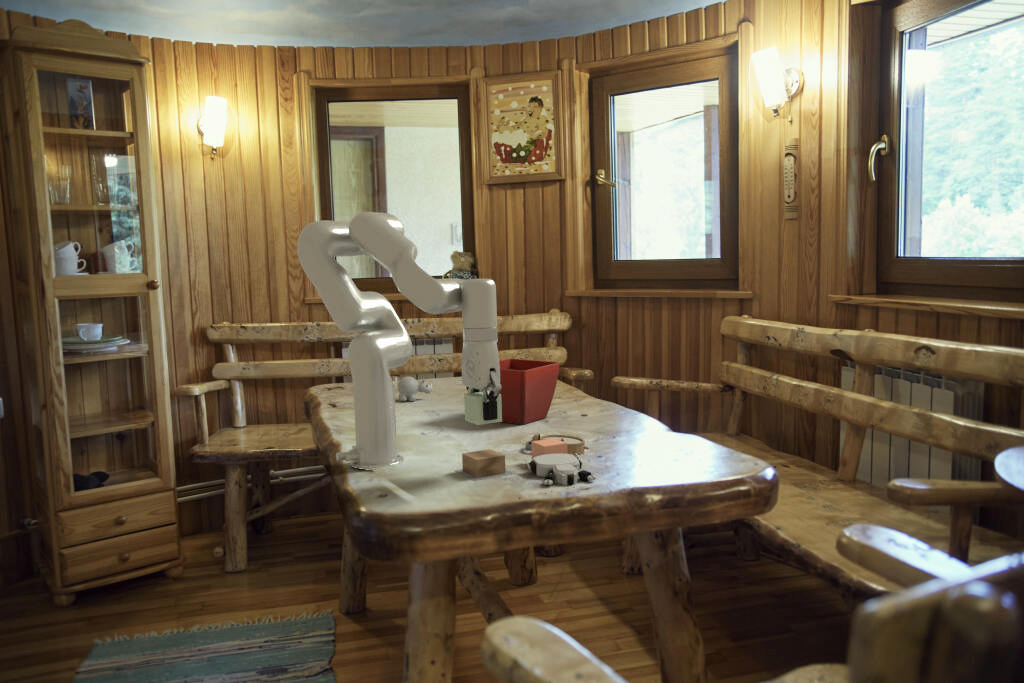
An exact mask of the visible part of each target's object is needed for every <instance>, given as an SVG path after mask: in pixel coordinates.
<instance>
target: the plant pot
mask: <svg viewBox="0 0 1024 683" xmlns="http://www.w3.org/2000/svg"><path fill="white" fill-rule="evenodd" d="M499 365H500V384H501V387H502V388H501V390H500V392H499V394H501V403H502V422H501V423H505V422H507V424H512V423H514V424H513V425H519V424H521V426H522V425H523V424H524V425H527V424H530V423H533V422H536V421H539V420H542V419H545V418H547V417H548V414H549V411H550V408H551V405H552V402H553V399H554V395H555V391H556V387H557V384H558V383H557V381H558V377H559V373H560V372H559V371H560V362H557V361H548V360H547V361H546V360H535V359H534V360H533V359H522V358H507V359H501V360H499ZM487 387H490V386H487ZM491 391H492V390H491ZM481 392H483V391H482V390H481ZM524 425H523V426H524Z"/></svg>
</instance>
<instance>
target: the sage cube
mask: <svg viewBox="0 0 1024 683" xmlns="http://www.w3.org/2000/svg"><path fill="white" fill-rule="evenodd" d="M487 392H488V395H489V393H490V391H487ZM463 396H464V397H463V398H464V402H463V403H464V421H465V422H468V423H470V424H473V425H476V426H479V425H480V426H481V425H487V424H492V423H493V424H494V423H503V422H502V403H501V394H499V396H498V401H497V413H498V418H497V419H495V420H488V421H485V420H484V419H483V402H485V400H484V395H483V392H475V393H468V392H467V393H464V394H463Z"/></svg>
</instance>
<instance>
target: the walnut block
mask: <svg viewBox="0 0 1024 683" xmlns="http://www.w3.org/2000/svg"><path fill="white" fill-rule="evenodd" d="M461 456H462V458H461V460H462V461H461V463H462V469H463V471H464V472H466V473H468V474H470V475H472V476H474V477H476V478H481V477H487V476H492V475H498V474H504V473H505V470H506V455H505V454H502V453H501V452H498V451H495V450H493V449H491V448H488V449H484V450H483V449H482V450H476V451H471V452H470V451H468V452H465V453H464V452H463V453H461Z"/></svg>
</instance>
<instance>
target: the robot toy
mask: <svg viewBox="0 0 1024 683" xmlns="http://www.w3.org/2000/svg"><path fill="white" fill-rule="evenodd" d="M524 461H525V463H526V465H527V467H528V468H527V469H528V470H529V471H531V472H532V473H533V474H534V475H536V476H537V477H541V478H544V480H543V483H544V485H546V486H552V485H553V484H554V483H556V484H560V485H564V486H567V485H568V486H572V485H576V484H577V483H578V482H579V480H581V481H583V482H591V481H595V480H596V479H597V477H596V475H594V474H593V475H592V472H591V471H588V470H584V469H582V467H583V463H584V462H583V461H582V460H581V458H580V457H579V456H578V455H577V453H576V456H574V455H572V454H560V453H559V454H546V455H540V456H536V457H534V458H533V460H532V459H531V461H530V462H528V460H527V458H526V457H525V458H524ZM581 469H582V470H581Z"/></svg>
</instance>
